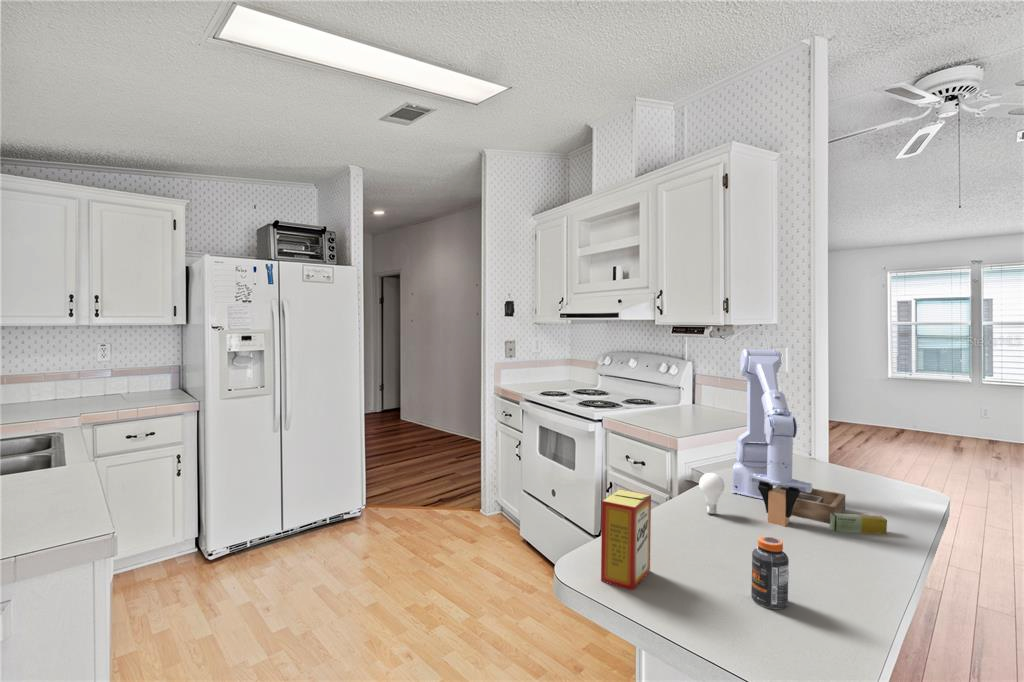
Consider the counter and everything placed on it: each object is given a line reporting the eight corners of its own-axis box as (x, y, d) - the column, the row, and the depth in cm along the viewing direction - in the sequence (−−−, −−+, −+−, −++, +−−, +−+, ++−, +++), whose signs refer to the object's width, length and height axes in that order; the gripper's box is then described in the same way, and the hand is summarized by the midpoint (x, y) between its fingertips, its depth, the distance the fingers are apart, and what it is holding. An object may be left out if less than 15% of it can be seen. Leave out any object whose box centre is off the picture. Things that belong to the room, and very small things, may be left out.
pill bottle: (744, 593, 96) (745, 533, 96) (775, 592, 97) (776, 532, 97) (762, 611, 90) (764, 546, 90) (795, 609, 91) (796, 545, 91)
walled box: (767, 509, 142) (767, 493, 142) (781, 497, 153) (781, 482, 153) (834, 524, 132) (834, 507, 132) (845, 510, 142) (845, 494, 142)
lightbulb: (698, 516, 137) (698, 474, 137) (699, 508, 143) (699, 468, 143) (724, 519, 134) (724, 477, 134) (724, 511, 140) (724, 471, 140)
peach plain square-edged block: (767, 522, 133) (768, 491, 133) (772, 518, 136) (773, 487, 136) (784, 526, 130) (785, 494, 130) (789, 522, 133) (789, 491, 133)
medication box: (833, 532, 127) (834, 516, 127) (828, 527, 130) (829, 512, 130) (887, 535, 126) (888, 519, 125) (881, 531, 128) (881, 515, 128)
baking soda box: (633, 590, 97) (634, 505, 97) (601, 581, 101) (602, 499, 101) (649, 571, 105) (651, 492, 105) (619, 563, 109) (620, 487, 108)
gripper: (744, 459, 135) (744, 511, 135) (807, 469, 125) (806, 525, 125) (753, 454, 140) (752, 504, 140) (814, 464, 130) (813, 518, 130)
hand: (778, 514), depth 133 cm, fingers closed on peach plain square-edged block, 4 cm apart
